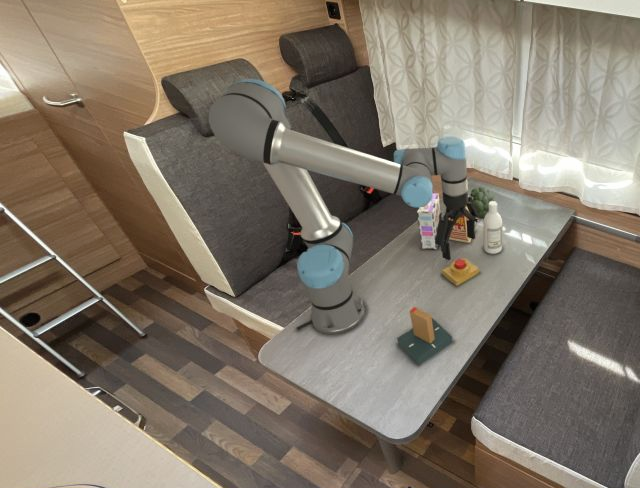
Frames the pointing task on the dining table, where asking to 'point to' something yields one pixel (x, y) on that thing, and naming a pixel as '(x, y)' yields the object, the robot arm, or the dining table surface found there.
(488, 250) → the bath foam
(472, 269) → the button box
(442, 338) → the panel
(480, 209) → the vegetable
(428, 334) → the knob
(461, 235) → the milk carton
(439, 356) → the dining table surface
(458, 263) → the button
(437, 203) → the candy box
